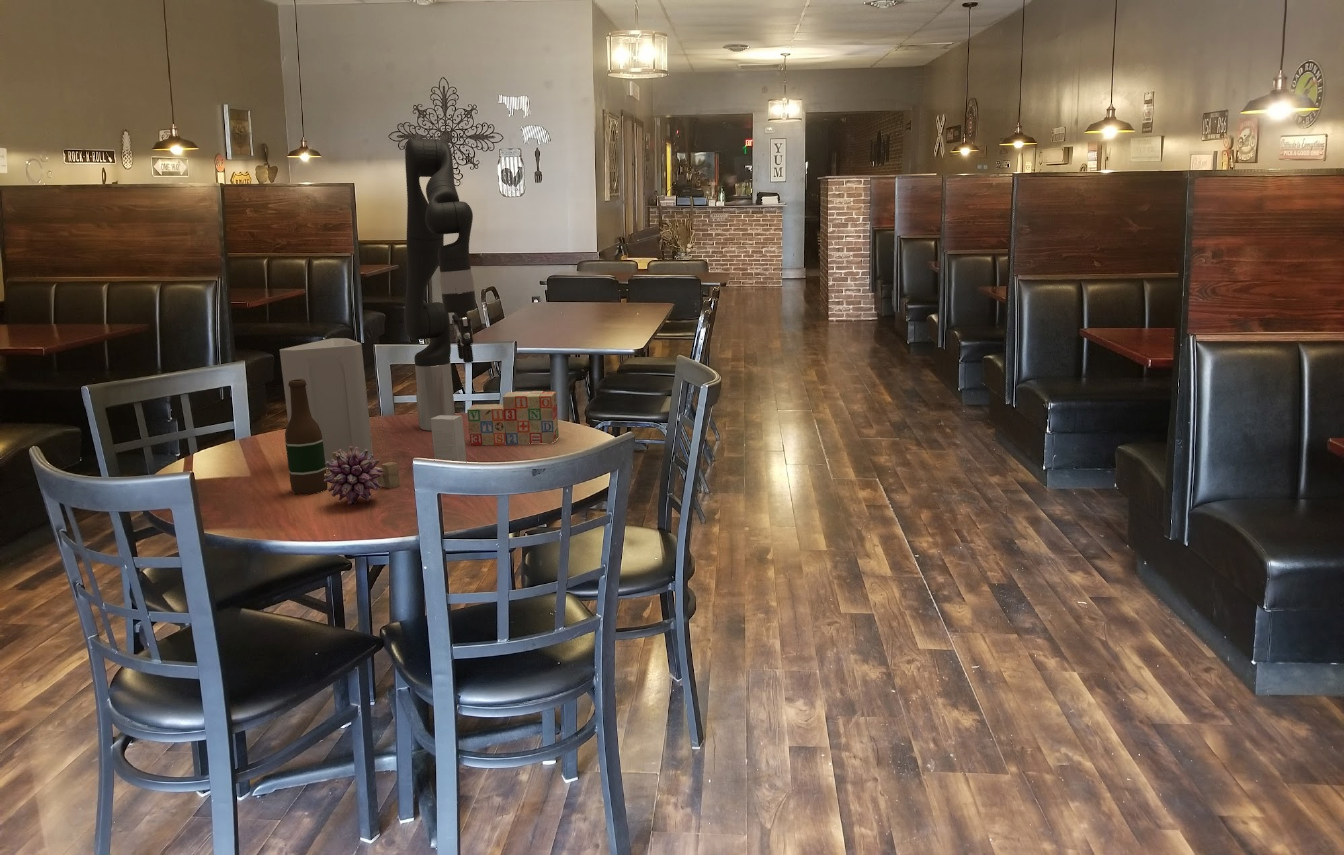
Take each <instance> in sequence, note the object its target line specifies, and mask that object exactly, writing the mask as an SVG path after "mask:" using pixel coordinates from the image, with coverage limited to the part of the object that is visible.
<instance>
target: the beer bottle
mask: <svg viewBox="0 0 1344 855" xmlns="http://www.w3.org/2000/svg"><path fill="white" fill-rule="evenodd" d="M306 385H307V384H306V381H305V380H303V379H295V380H291V381H289V384H288V386H289V387H290V395H291V419H290V421H289V423H287V425H286V428H285V432H284V439H285V440H284V442H285V443H284V444H285V450H286V458H287V467H288V474H289V484H290V488H291V491H292V493H293V494H294V495H299V494H308V495H314V494H313V493H315V494H318V493H317V492H320V493H322V492H324V491H327V490H328V489H329V487H328V486H329V485H328V482H324V479H327V478H325V476H324V474H327V473H328V472H327V469H326V465H325V455H324V446H323V438H322V433H321V430H320V428H319V426H318V424H317V423H316V422H315V420H314V419H313V418H312V416H311V413H310V409H309V403H308V398H307V392H306V387H305V386H306ZM323 490H324V491H323ZM321 491H322V492H321Z"/></svg>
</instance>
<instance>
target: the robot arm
mask: <svg viewBox="0 0 1344 855" xmlns="http://www.w3.org/2000/svg"><path fill="white" fill-rule="evenodd" d="M404 152H405V153H404V159H405V161H404V162H405V179H406V182H405V183H406V198H407V201H406V202H407V206H406V207H407V210H406V212H407V213H406V214H407V215H406V271H407V272H406V273H407V274H406V289H405V290H406V292H405V301H404V313H403V314H404V315H403V318H404V319H403V321H404V328H405V332H406V334H407V336H408V338H410V339H411V340H414V341H417V340H427V339H430V343H428V345H427V346H426V347H425V348H423V349H422V350H419V351H418V352H417V353H415V354H414V358H413V359H414V367H415V378H416V379H415V380H416V388H417V392H416V393H415V398H416V399H415V400H416V406H417V407H416V408H417V409H416V410H417V417H418V418H417V419H418V427H419V428H420V429H421V430H423V431H432V429H431V420H430V419H431V418H434V417H436V416H439V415H452V416H456V411H455V400H454V398H455V397H454V389H453V388H454V385H453V379H452V378H453V376H452V364H451V352H452V345H451V344H452V343H451V323H452V327H453V331H452V332H453V336H454V340H455V343H456V345H457V352H458V353H457V354H458V358H459V359H460V360H462V361H463V363H466V364H467V363H468V364H469V363H473V362H474V353H473V344H474V338H473V329H472V319H471V317H470V316H469V315H468V313H469V312H470V311H476V309H477V302H476V291H475V282H474V276H473V273H472V267H471V260H470V259H471V258H470V237H471V231H472V227H473V220H474V219H473V218H474V215H473V214H474V213H473V210H472V208H471V206H470V205H469V203H468V202H466V201H460V198H459V195H458V191H457V188H456V184H455V172H454V161H453V154H452V153H453V152H452V150H451V147H450V144H449V143H448V141H446V140H444V139H440V138H439V139H438V138H437V139H436V138H435V139H434V138H417V137H416V138H415V137H414V138H408V140H407V142H406V145H405V150H404ZM420 178H429V179H428V181H427V183H426V187H425V194H426V196H425V195H424V192H423V190H422V187H421V182H420ZM426 198H427V199H426ZM450 234H451V235H452V234H458V237H457V239H456V240H455V241H454V242H451V243H448V244H444V242H445V240H444V236H445V235H450ZM438 267H439V268H438ZM437 269H439V272H440V273H439V278H440V279H439V284H440V291H441V292H440V293H441V299H442V302H441V301H438V302H437V301H436V302H435V301H434V302H426V303H424V301H425V294H426V290H427V287H428V285H429V282H430V281H431V279H432V277H433V275H434V274H435V272H436V271H437ZM450 313H451V314H452V315H451V319H452V320H450Z"/></svg>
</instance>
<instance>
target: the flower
mask: <svg viewBox="0 0 1344 855" xmlns="http://www.w3.org/2000/svg"><path fill="white" fill-rule="evenodd" d="M337 452H338V454H336V457H337V460H334V459H332V460H331V461H332V462H328V461H326V463H325V465H327V466H328V467H329V468H328V469H327V471H329V472H326V473H327V474H324V476H325V478H327V479H324V482H327V483H330V484H332V485H331V486H330V488H329V487H328V488H327V491H328V492H331V491H332V492H331V494H330V495H331V496H332V497H333V498H335V497H336V496H338V495H339V498H338V501H342V500H343V499H344V498H346V499H347V503H348V505H352V503H353V504H358V499H359V497H360V498H362V499H365V501H366V502H368V501H370V497H371V496H372V493H371V490H374V491H377V490H378V489H382V485H380V484H379V483H378V481H376V480H375V479H376V478H377V477H379V476H382V472H384V471H383V469H377V468H374V467H377V465H378V463H380V462H381V461H380V458H377V459H374V457H375V455H374V453H373V454H371V455H369V456H367V453H368V450H367V449H365V451H364V452H363V453H361V454H360V453H359V447H356V448H355V450H353V447H350V449H349V452H348V454H346V453H344V452H343V451H342V450H341V449H339V450H338V451H337ZM372 459H373V460H372Z"/></svg>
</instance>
